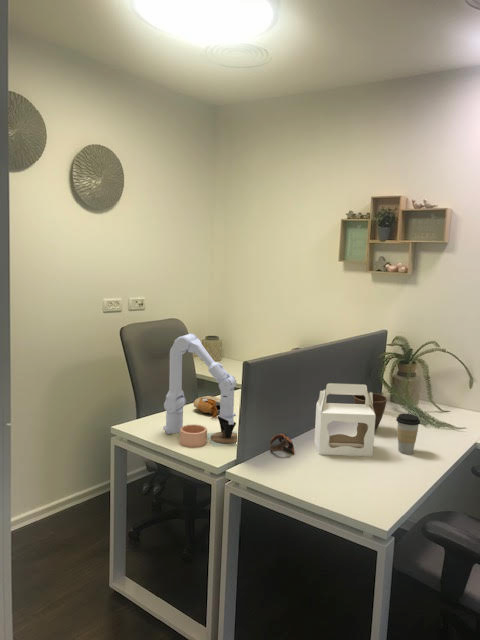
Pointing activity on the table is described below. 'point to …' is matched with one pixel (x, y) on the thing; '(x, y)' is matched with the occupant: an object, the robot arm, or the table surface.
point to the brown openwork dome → (281, 443)
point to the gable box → (345, 413)
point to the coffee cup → (407, 432)
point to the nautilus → (208, 405)
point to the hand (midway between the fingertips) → (226, 435)
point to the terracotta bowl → (193, 435)
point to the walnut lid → (224, 438)
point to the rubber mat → (218, 443)
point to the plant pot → (374, 406)
